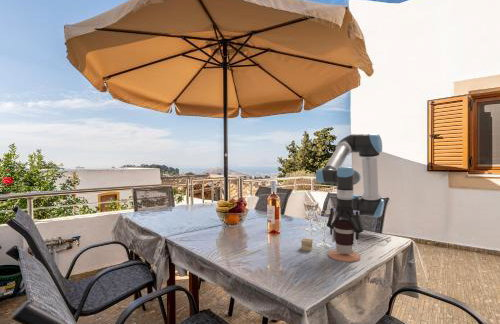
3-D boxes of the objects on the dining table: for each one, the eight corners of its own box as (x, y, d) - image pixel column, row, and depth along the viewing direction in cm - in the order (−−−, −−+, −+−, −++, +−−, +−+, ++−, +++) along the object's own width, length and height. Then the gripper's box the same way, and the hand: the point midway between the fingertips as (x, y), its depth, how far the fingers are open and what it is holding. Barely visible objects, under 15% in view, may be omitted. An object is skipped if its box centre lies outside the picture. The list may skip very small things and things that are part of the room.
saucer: (335, 249, 146) (335, 247, 146) (364, 255, 136) (364, 253, 136) (323, 256, 134) (323, 254, 134) (354, 264, 124) (354, 262, 124)
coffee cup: (341, 256, 129) (341, 224, 129) (329, 249, 138) (329, 219, 138) (359, 254, 131) (359, 222, 131) (346, 247, 141) (347, 218, 141)
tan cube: (302, 247, 149) (302, 237, 148) (312, 248, 147) (312, 238, 147) (301, 250, 144) (301, 240, 144) (311, 251, 142) (311, 241, 142)
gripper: (319, 196, 139) (319, 241, 139) (366, 201, 125) (365, 250, 125) (326, 195, 145) (325, 237, 145) (371, 199, 130) (370, 246, 131)
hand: (344, 243), depth 135 cm, fingers open, 10 cm apart
